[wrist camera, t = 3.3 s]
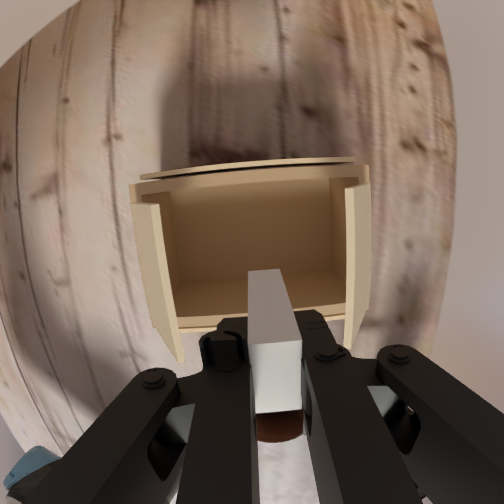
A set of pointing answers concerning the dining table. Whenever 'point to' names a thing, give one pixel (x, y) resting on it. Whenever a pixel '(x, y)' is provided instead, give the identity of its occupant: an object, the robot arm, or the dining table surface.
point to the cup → (279, 425)
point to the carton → (253, 234)
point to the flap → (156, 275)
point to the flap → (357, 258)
